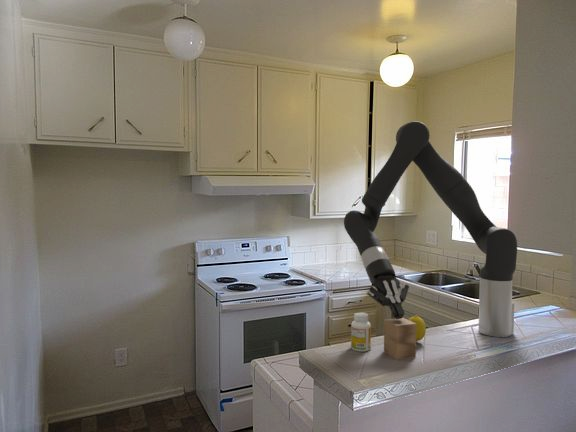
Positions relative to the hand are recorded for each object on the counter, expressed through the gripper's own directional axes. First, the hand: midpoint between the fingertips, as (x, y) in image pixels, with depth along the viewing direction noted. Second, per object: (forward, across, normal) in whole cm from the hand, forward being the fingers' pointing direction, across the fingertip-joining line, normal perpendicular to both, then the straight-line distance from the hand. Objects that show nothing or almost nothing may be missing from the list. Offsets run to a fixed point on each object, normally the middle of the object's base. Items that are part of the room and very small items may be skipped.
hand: (400, 317), depth 115 cm
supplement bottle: (+2, -8, +12) cm, 15 cm away
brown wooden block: (+7, 0, +7) cm, 10 cm away
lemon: (+2, +10, +12) cm, 16 cm away
